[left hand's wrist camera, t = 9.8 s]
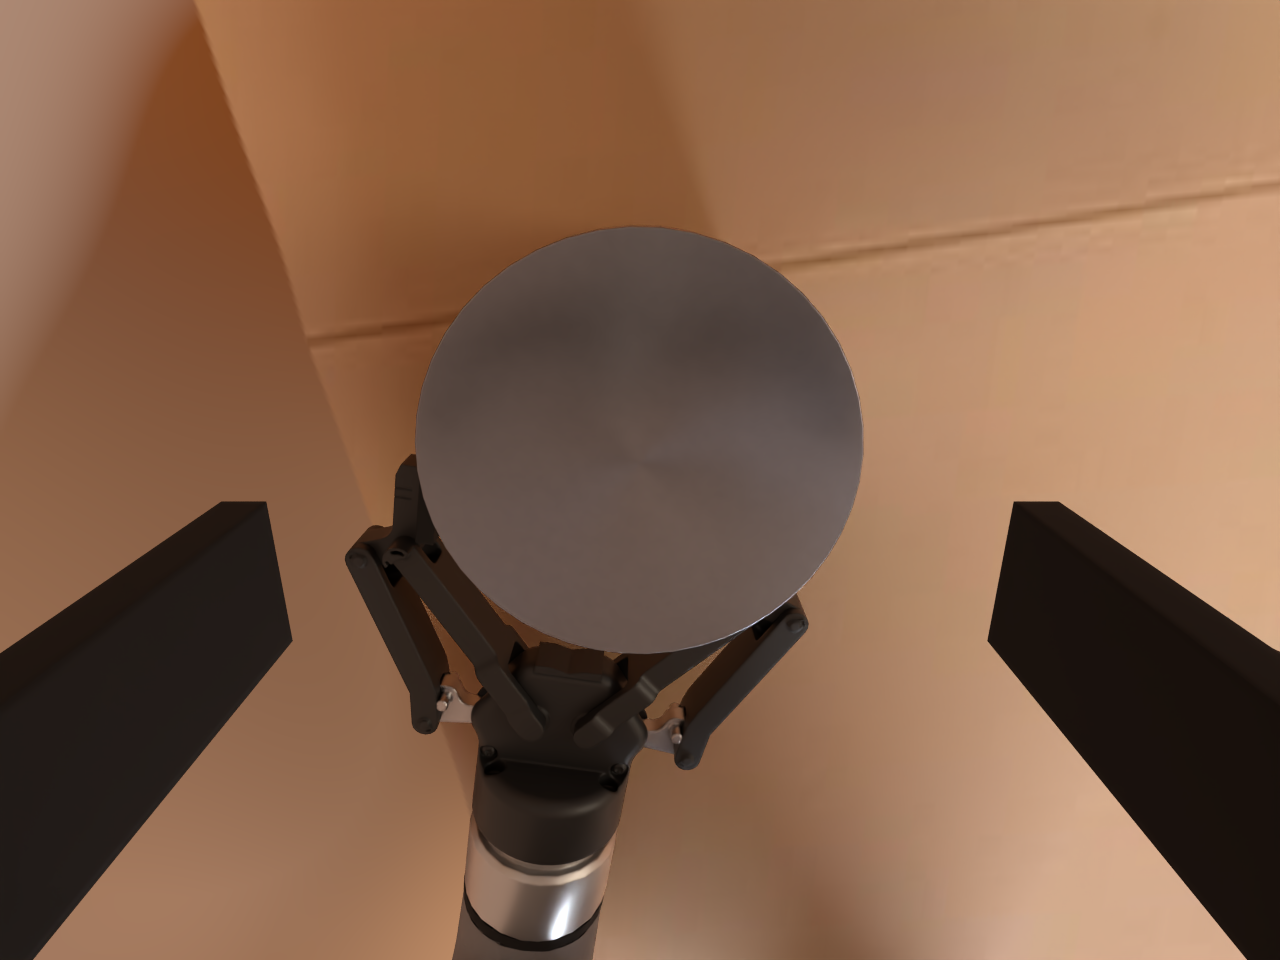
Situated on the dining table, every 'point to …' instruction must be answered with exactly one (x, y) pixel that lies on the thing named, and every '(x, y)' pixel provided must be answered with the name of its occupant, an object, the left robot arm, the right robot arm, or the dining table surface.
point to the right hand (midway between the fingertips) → (609, 412)
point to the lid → (639, 439)
